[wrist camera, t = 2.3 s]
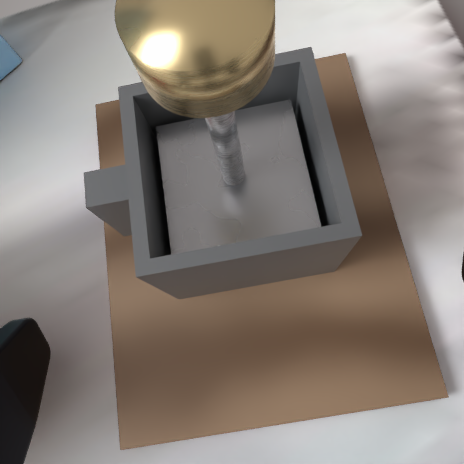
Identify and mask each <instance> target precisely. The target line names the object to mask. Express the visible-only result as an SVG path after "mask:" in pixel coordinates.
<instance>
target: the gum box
mask: <svg viewBox="0 0 464 464" xmlns="http://www.w3.org/2000/svg"><path fill="white" fill-rule="evenodd" d="M21 62H22V59H21V58H20V57H19V56H18V54H17V53H16V52H15V51H14V50H13V49H12V48H11V47H10V45H9V44H8V43H7V42H6V41H5V40H4V38H3V37H2V36H1V35H0V80H1V79H2V78H4V77H5V76H6V75H7V74H8V73H9V72H11V71H13V70H14V69H15V68H16V67H17V66H18V65H20V64H21Z"/></svg>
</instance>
